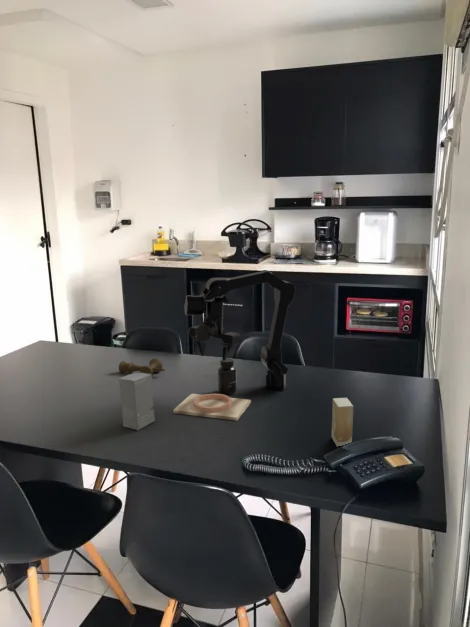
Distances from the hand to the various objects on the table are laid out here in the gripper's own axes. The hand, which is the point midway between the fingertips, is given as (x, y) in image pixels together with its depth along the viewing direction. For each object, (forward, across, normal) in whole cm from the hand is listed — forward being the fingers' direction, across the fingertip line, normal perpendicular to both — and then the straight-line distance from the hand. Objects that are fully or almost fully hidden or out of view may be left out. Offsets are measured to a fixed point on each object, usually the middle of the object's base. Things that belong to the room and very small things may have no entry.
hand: (213, 358), depth 178 cm
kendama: (+16, -37, +4) cm, 40 cm away
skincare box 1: (+16, -6, -31) cm, 35 cm away
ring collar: (+14, +7, -9) cm, 18 cm away
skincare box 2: (+12, +53, -10) cm, 55 cm away
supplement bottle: (+14, +3, +5) cm, 15 cm away
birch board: (+14, +7, -9) cm, 18 cm away
